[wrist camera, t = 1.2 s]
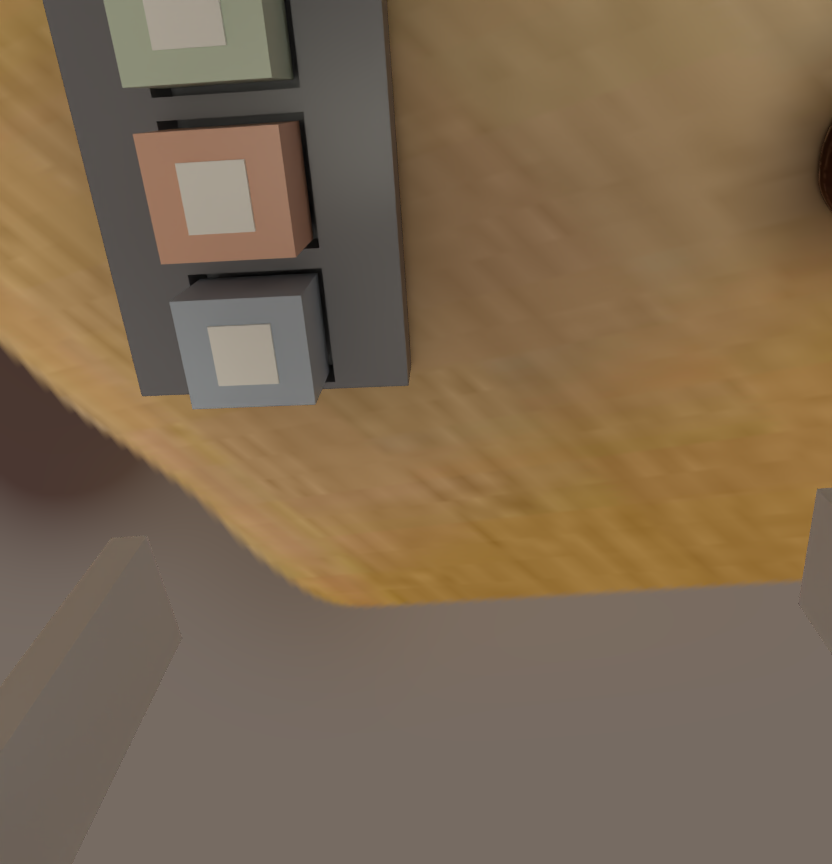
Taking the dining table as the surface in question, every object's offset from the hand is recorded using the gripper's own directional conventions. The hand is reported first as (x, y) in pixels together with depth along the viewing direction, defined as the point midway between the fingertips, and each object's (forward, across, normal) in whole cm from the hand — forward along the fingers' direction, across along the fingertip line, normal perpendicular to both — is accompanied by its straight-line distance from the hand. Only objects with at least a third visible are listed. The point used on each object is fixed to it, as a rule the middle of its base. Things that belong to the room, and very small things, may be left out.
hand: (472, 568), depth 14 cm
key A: (+17, -8, +12) cm, 22 cm away
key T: (+17, -8, +6) cm, 20 cm away
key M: (+17, -8, 0) cm, 19 cm away
